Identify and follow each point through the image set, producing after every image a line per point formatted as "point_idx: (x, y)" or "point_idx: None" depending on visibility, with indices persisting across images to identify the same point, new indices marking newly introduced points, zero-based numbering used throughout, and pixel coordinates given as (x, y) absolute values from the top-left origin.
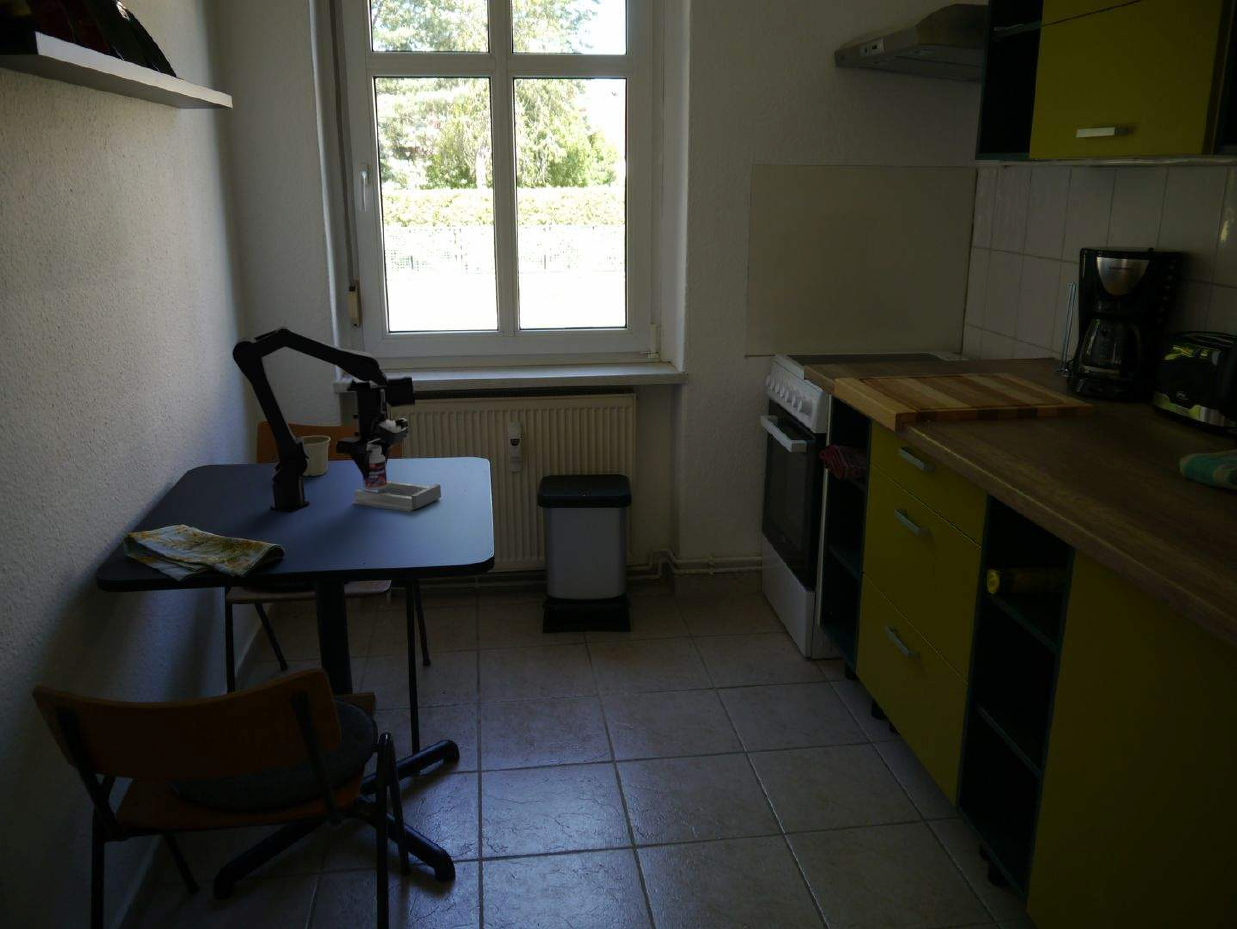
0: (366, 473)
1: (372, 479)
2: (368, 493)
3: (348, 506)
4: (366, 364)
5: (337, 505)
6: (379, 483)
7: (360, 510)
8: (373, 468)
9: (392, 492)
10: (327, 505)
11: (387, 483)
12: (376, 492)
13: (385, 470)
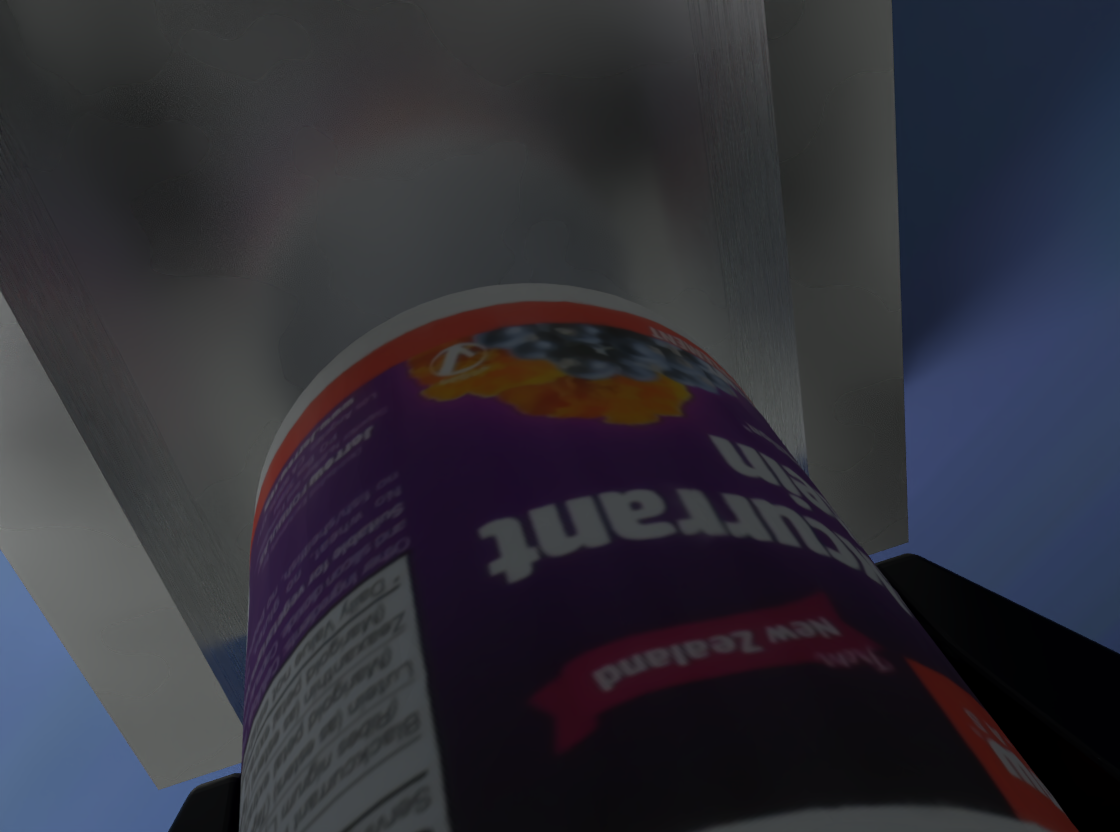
0: (1040, 626)
1: (804, 477)
2: (889, 248)
3: (991, 348)
4: None
5: (1009, 491)
6: (623, 347)
7: (1092, 14)
8: (951, 673)
9: (135, 348)
10: (1052, 572)
11: (155, 555)
12: (809, 126)
13: (400, 594)
